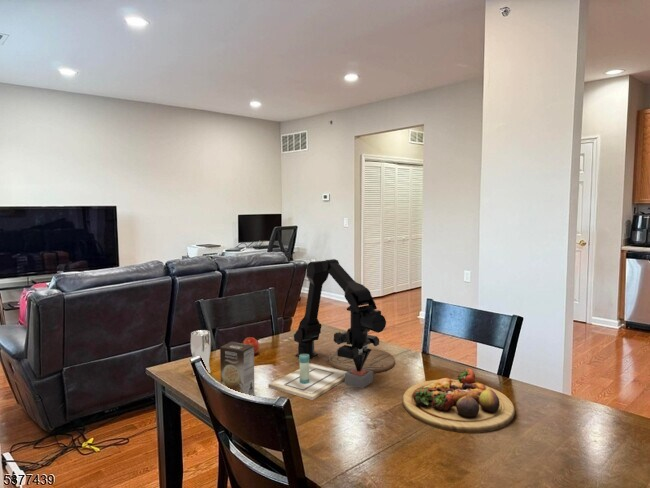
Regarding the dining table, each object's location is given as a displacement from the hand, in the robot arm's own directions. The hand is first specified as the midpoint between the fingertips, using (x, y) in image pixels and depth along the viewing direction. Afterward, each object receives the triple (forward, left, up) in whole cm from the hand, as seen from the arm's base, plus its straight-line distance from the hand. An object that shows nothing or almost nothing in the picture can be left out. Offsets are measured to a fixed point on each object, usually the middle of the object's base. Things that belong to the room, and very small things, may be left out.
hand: (358, 370), depth 152 cm
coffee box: (+30, -27, -4) cm, 41 cm away
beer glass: (+24, -51, -4) cm, 56 cm away
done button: (0, 0, -3) cm, 3 cm away
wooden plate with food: (0, +33, -5) cm, 34 cm away
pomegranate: (-1, -51, -4) cm, 51 cm away
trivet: (-18, -9, -5) cm, 21 cm away
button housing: (0, 0, -4) cm, 4 cm away
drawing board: (+8, -14, -4) cm, 17 cm away
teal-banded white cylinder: (+12, -14, -3) cm, 19 cm away
